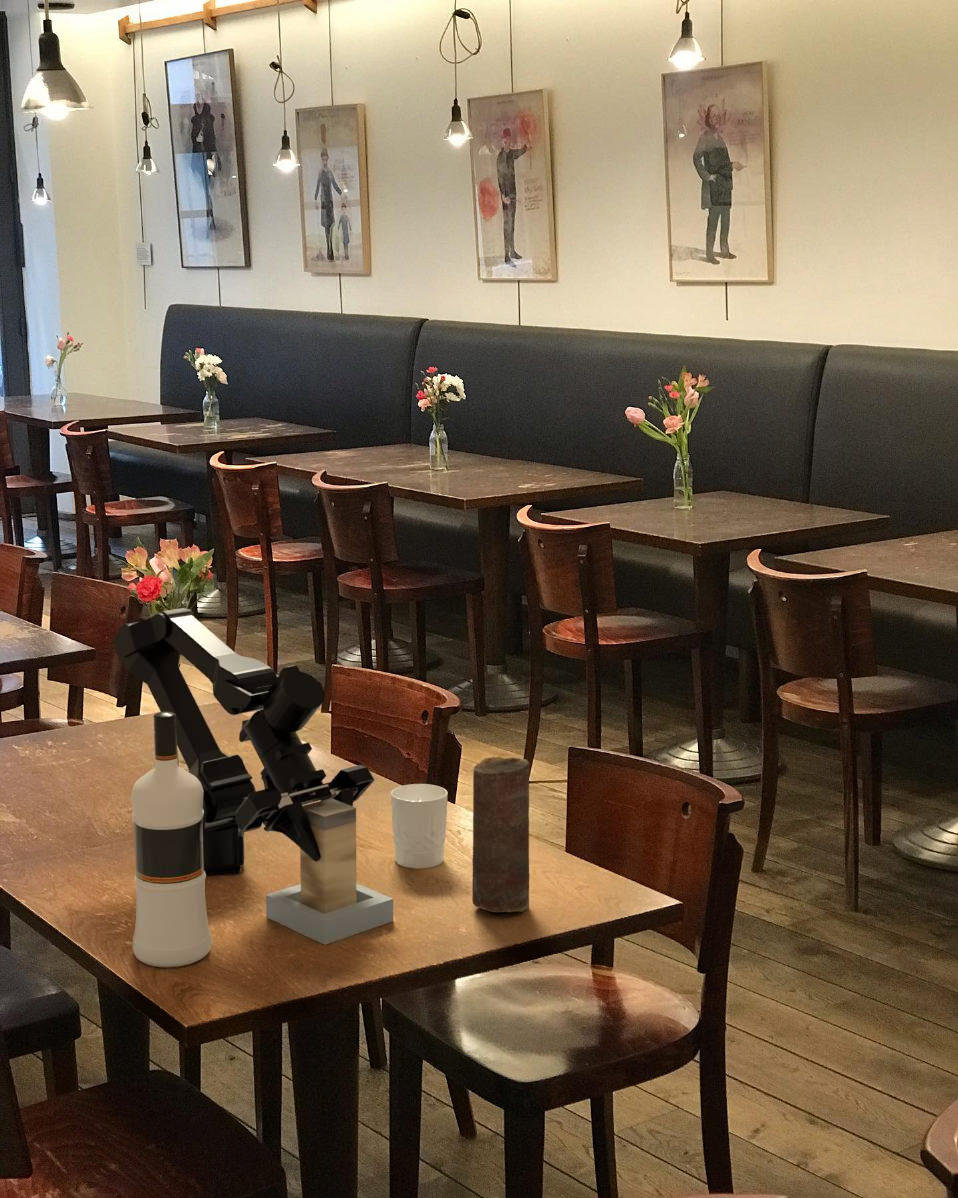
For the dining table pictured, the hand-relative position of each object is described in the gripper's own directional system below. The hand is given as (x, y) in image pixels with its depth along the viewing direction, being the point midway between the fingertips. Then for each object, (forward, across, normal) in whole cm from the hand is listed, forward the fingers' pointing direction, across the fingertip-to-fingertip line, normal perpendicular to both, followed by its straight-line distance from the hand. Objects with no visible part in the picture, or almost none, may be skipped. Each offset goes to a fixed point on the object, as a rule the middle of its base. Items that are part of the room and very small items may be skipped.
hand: (335, 854), depth 201 cm
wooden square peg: (+4, 0, -6) cm, 7 cm away
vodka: (+3, +21, -10) cm, 23 cm away
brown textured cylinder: (+14, -18, +2) cm, 23 cm away
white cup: (0, -22, -13) cm, 26 cm away
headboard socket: (+5, 0, -7) cm, 9 cm away
